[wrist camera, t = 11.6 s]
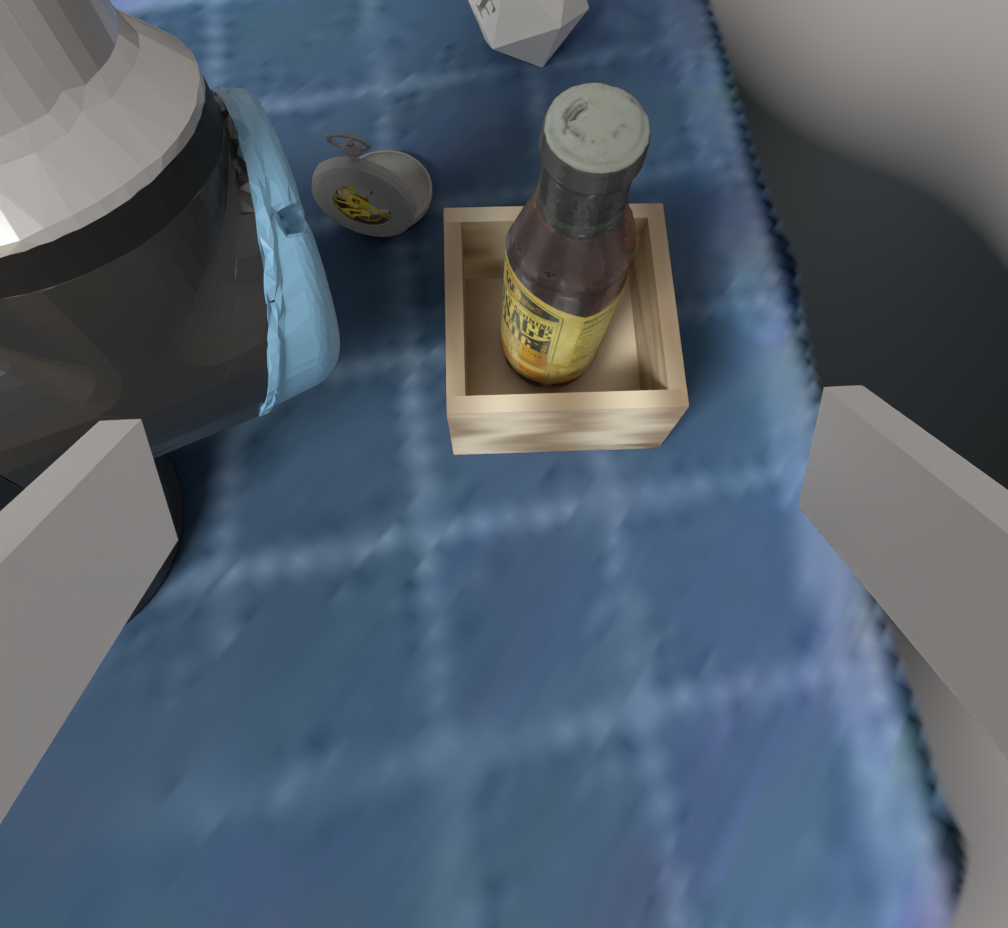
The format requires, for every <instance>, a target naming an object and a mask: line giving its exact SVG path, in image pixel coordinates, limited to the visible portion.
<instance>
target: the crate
mask: <svg viewBox="0 0 1008 928" xmlns="http://www.w3.org/2000/svg"><path fill="white" fill-rule="evenodd" d="M629 206H630V208H631V210H632V212H633V216H634V220H635V224H636V232H637V236H636V239H637V242H636V250H635V253H634V257H633V261H632V263H631V266H630V269H629V270H628V274H627V279H626V283H625V286H624V288H623V291H622V293H621V296H620V298H619V300H618V303H617V305H616V308H615V310H614V313H613V315H612V318H611V320H610V323H609V325H608V328H607V331H606V333H605V336H604V338H603V341H602V343H601V346H600V348H599V351H598V353H597V355H596V358H595V360H594V361H593V363H592V364H591V366H590V367H589V368H588V370H587V371H586V372H584V373H583V374H582V375H581V376H580V377H579V378H578V379H576V380H575V381H574V382H572V383H571V384H569V385H567V386H563V387H550V388H549V387H538V386H534V385H530V384H529V383H528V382H526V381H525V380H524V379H521V378H520V377H519V376H518V375H517V374H516V373H515V372H514V371H513V370H512V369H511V368H510V366H509V365H508V364H507V362H506V359H505V354H504V352H503V348H502V344H501V315H502V294H503V277H504V259H505V256H504V254H505V245H506V237H507V233H508V231H509V229H510V227H511V226H512V224H513V223H514V221H515V220H516V218H517V216H518V215H519V213H520V212H521V210H522V209H523V207H524V206H509V207H466V208H444V266H445V329H446V393H447V418H448V423H449V429H450V435H451V441H452V446H453V452H454V455H460V454H491V453H521V452H552V451H582V450H613V449H644V448H659V447H660V446H661V444H662V443H663V442H664V440H665V439H666V437H667V436H668V435H669V433H670V432H671V431H672V429H673V428H674V426H675V425H676V424H677V422H678V421H679V420H680V418H681V417H682V415H683V414H684V413H685V411H686V410H687V408H688V407H689V401H688V394H687V386H686V378H685V371H684V363H683V355H682V347H681V340H680V332H679V324H678V317H677V309H676V301H675V293H674V286H673V278H672V270H671V263H670V255H669V247H668V239H667V232H666V224H665V216H664V209H663V203H639V204H629Z"/></svg>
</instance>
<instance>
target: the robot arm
mask: <svg viewBox="0 0 1008 928" xmlns="http://www.w3.org/2000/svg"><path fill="white" fill-rule="evenodd" d="M304 218H305V212H304V209H303V206H302V204H301V201H300V198H299V194H298V190H297V186H296V182H295V180H294V177H293V174H292V172H291V169H290V166H289V164H288V161H287V159H286V156H285V154H284V151H283V149H282V146H281V144H280V141H279V139H278V137H277V134H276V132H275V130H274V127H273V125H272V123H271V121H270V119H269V117H268V115H267V113H266V112H265V110H264V108H263V107H262V105H261V102H260V101H259V100H258V98H257V97H256V96H255V95H254V94H253V93H251V92H250V91H249V90H246V89H244V88H235V89H229V88H227V87H225V86H223V87H222V88H220V89H219V86H217V87H215V88H212V89H211V91H210V89H209V87H208V84H207V82H206V80H205V78H204V76H203V74H202V71H201V69H200V67H199V65H198V63H197V61H196V60H195V58H194V56H193V54H192V52H191V51H190V50H189V49H188V48H187V47H186V46H185V45H184V44H183V43H182V42H181V41H180V40H178V39H177V38H176V37H174V36H173V35H171V34H169V33H167V32H165V31H163V30H161V29H159V28H156V27H154V26H152V25H150V24H148V23H146V22H143V21H141V20H139V19H137V18H135V17H132V16H130V15H128V14H126V13H124V12H121V11H119V10H117V9H116V8H115V7H114V6H113V5H112V4H111V2H110V0H0V824H1V822H2V820H3V819H4V817H5V816H6V814H7V812H8V811H9V809H10V808H11V806H12V804H13V803H14V801H15V800H16V798H17V796H18V795H19V793H20V792H21V790H22V788H23V787H24V785H25V784H26V782H27V781H28V779H29V777H30V776H31V774H32V773H33V771H34V769H35V768H36V766H37V765H38V763H39V761H40V760H41V758H42V757H43V755H44V753H45V752H46V750H47V749H48V747H49V745H50V744H51V742H52V741H53V739H54V737H55V736H56V734H57V733H58V731H59V729H60V728H61V726H62V725H63V723H64V721H65V720H66V718H67V717H68V715H69V713H70V712H71V710H72V709H73V707H74V705H75V704H76V702H77V701H78V699H79V697H80V696H81V694H82V693H83V691H84V689H85V688H86V686H87V685H88V683H89V681H90V680H91V678H92V677H93V675H94V673H95V672H96V670H97V669H98V667H99V665H100V664H101V662H102V661H103V659H104V657H105V656H106V654H107V653H108V651H109V650H110V648H111V646H112V645H113V643H114V642H115V640H116V638H117V637H118V635H119V634H120V632H121V630H122V629H123V627H124V626H125V624H126V623H127V622H128V621H129V620H130V619H131V618H133V617H134V616H135V615H136V614H137V613H138V612H139V611H140V610H141V609H142V608H143V607H144V606H145V605H146V603H147V602H148V601H149V600H150V599H151V597H152V596H153V595H154V593H155V592H156V591H157V589H158V588H159V586H160V585H161V583H162V582H163V580H164V578H165V576H166V575H167V573H168V571H169V569H170V567H171V565H172V562H173V560H174V557H175V555H176V552H177V549H178V545H179V541H180V537H181V532H182V525H183V499H182V493H181V488H180V484H179V480H178V477H177V474H176V472H175V470H174V467H173V465H172V464H171V462H170V460H169V458H168V457H167V455H166V453H168V452H171V451H173V450H176V449H178V448H181V447H183V446H186V445H188V444H190V443H193V442H195V441H198V440H200V439H203V438H205V437H208V436H210V435H213V434H215V433H218V432H220V431H222V430H225V429H227V428H230V427H232V426H235V425H237V424H240V423H242V422H245V421H247V420H250V419H252V418H255V417H259V416H263V415H266V414H268V413H269V412H270V411H272V409H273V408H274V406H276V405H278V404H280V403H282V402H284V401H286V400H288V399H290V398H292V397H294V396H296V395H298V394H300V393H302V392H304V391H306V390H308V389H310V388H312V387H314V386H316V385H318V384H319V383H321V382H322V381H324V380H325V379H326V378H327V377H328V376H329V375H330V373H331V372H332V371H333V369H334V368H335V366H336V363H337V361H338V357H339V352H340V336H339V328H338V323H337V318H336V313H335V308H334V304H333V300H332V296H331V292H330V289H329V285H328V281H327V278H326V274H325V271H324V267H323V264H322V260H321V257H320V254H319V251H318V248H317V245H316V242H315V239H314V236H313V233H312V231H311V229H310V227H309V225H308V223H307V222H306V220H305V219H304ZM798 507H799V508H800V509H801V510H802V511H803V513H804V514H805V515H806V516H807V517H808V519H809V520H810V521H811V522H812V524H813V525H814V526H815V527H816V528H817V530H818V531H819V532H820V533H821V534H822V536H823V537H824V538H825V539H826V540H827V542H828V543H829V544H830V545H831V546H832V548H833V549H834V550H835V551H836V553H837V554H838V555H839V556H840V557H841V559H842V560H843V561H844V562H845V563H846V565H847V566H848V567H849V568H850V569H851V571H852V572H853V573H854V574H855V575H856V577H857V578H858V579H859V580H860V582H861V583H862V584H863V585H864V586H865V588H866V589H867V590H868V591H869V592H870V594H871V595H872V596H873V597H874V598H875V600H876V601H877V602H878V603H879V604H880V606H881V607H882V608H883V609H884V611H885V612H886V613H887V614H888V615H889V617H890V618H891V619H892V620H893V621H894V623H895V624H896V625H897V626H898V627H899V629H900V630H901V631H902V632H903V633H904V635H905V636H906V637H907V638H908V640H909V641H910V642H911V643H912V644H913V646H914V647H915V648H916V649H917V650H918V652H919V653H920V654H921V655H922V656H923V657H924V659H925V660H926V661H927V662H928V664H929V665H930V666H931V667H932V669H933V670H934V671H935V672H936V673H937V674H938V676H939V677H940V678H941V679H942V680H943V682H944V683H945V684H946V685H947V687H948V688H949V689H950V690H951V691H952V693H953V694H954V695H955V696H956V698H957V699H959V701H960V702H961V704H962V705H963V706H964V707H965V708H966V710H967V711H968V712H969V713H970V714H971V716H972V717H973V718H974V719H975V720H976V722H977V723H978V724H979V725H980V726H981V728H982V729H983V730H984V731H985V733H986V734H987V735H988V736H989V737H990V739H991V740H992V741H993V742H994V743H995V744H996V746H997V747H998V748H999V749H1000V751H1001V752H1002V753H1003V754H1004V756H1005V757H1006V758H1007V759H1008V490H1007V489H1006V488H1004V487H1003V486H1001V485H1000V484H999V483H997V482H996V481H994V480H993V479H991V478H990V477H989V476H987V475H986V474H985V473H983V472H982V471H980V470H979V469H978V468H976V467H975V466H974V465H972V464H971V463H969V462H968V461H967V460H965V459H964V458H962V457H961V456H960V455H958V454H957V453H955V452H954V451H952V450H951V449H950V448H948V447H947V446H945V445H944V444H943V443H941V442H940V441H939V440H937V439H936V438H935V437H933V436H932V435H930V434H929V433H928V432H926V431H924V430H923V429H922V428H921V427H919V426H918V425H917V424H915V423H914V422H912V421H911V420H909V419H908V418H907V417H905V416H904V415H903V414H901V413H900V412H898V411H897V410H896V409H894V408H893V407H891V406H890V405H889V404H887V403H886V402H884V401H883V400H882V399H880V398H879V397H878V396H876V395H875V394H873V393H872V392H870V391H869V390H868V389H866V388H865V387H864V386H839V387H824V390H823V394H822V399H821V404H820V408H819V413H818V418H817V422H816V427H815V432H814V436H813V441H812V446H811V450H810V455H809V460H808V464H807V469H806V474H805V478H804V483H803V487H802V492H801V497H800V501H799V506H798Z"/></svg>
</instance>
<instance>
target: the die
mask: <svg viewBox="0 0 1008 928" xmlns="http://www.w3.org/2000/svg"><path fill="white" fill-rule="evenodd" d="M468 1H469V4H470V6H471V8H472V10H473V13H474V15H475V17H476V20H477V22H478V24H479V27H480V29H481V31H482V33H483V36H484V38H485V40H486V42H487V43H488V44H489V46H490V47H491V48H492V49H494V50H496V51H499V52H502V53H504V54H507V55H510V56H512V57H515V58H518V59H520V60H523V61H526V62H528V63H531V64H534V65H536V66H539V67H542V68H543V67H544V65H545V64H546V63H547V61H548V60H549V59H550V58H551V56H552V55H553V54H554V52H555V51H556V50H557V49H558V47H559V46H560V45H561V43H562V42H563V41H564V40H565V38H566V37H567V36H568V35H569V33H570V32H571V31H572V29H573V28H574V27H575V26H576V24H577V23H578V22H579V20H580V19H581V18H582V17H583V15H584V14H585V13H586V11H587V10H588V9H589V6H588V2H587V0H468Z"/></svg>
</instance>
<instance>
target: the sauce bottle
mask: <svg viewBox="0 0 1008 928" xmlns="http://www.w3.org/2000/svg"><path fill="white" fill-rule="evenodd" d="M649 141H650V123H649V119H648V116H647V114H646V112H645V111H644V110H643V108H642V107H641V105H640V104H639V102H638V101H637V99H635V98H634V97H633V96H632V95H631V94H629V93H628V92H626V91H624V90H623V89H621V88H618V87H612V86H609V85H607V84H602V83H586V84H581V85H577V86H573V87H571V88H569V89H567V90H566V91H564V92H562V93H560V94H559V95H558V96H557V97H556V98H555V99H554V100H553V101H552V103H551V105H550V106H549V108H548V110H547V112H546V114H545V117H544V119H543V122H542V128H541V133H540V138H539V152H540V157H541V160H542V166H541V171H540V173H541V175H540V179H539V182H538V184H537V186H536V188H535V189H534V191H533V193H532V194H531V196H530V197H529V199H528V201H527V202H526V204H525V205H524V207H523V209H522V210H521V212H520V213H519V215H518V216H517V218H516V220H515V221H514V223H513V224H512V226H511V227H510V229H509V231H508V233H507V237H506V245H505V254H504V256H505V259H504V277H503V294H502V315H501V344H502V348H503V352H504V354H505V359H506V362H507V364H508V365H509V366H510V368H511V369H512V370H513V371H514V372H515V373H516V374H517V375H518V376H519V377H520V378H521V379H524V380H525V381H526V382H528V383H529V384H530V385H534V386H538V387H549V388H550V387H563V386H567V385H569V384H571V383H572V382H574V381H575V380H576V379H578V378H579V377H580V376H581V375H582V374H583V373H584V372H586V371H587V370H588V368H589V367H590V366H591V364H592V363H593V361H594V360H595V358H596V355H597V353H598V351H599V348H600V346H601V343H602V341H603V338H604V336H605V333H606V331H607V328H608V325H609V323H610V320H611V318H612V315H613V313H614V310H615V308H616V305H617V303H618V300H619V298H620V296H621V293H622V291H623V288H624V286H625V283H626V279H627V274H628V270H629V269H630V266H631V263H632V261H633V257H634V253H635V250H636V242H637V239H636V236H637V232H636V224H635V220H634V216H633V212H632V210H631V208H630V206H629V203H628V191H629V188H630V185H631V182H632V180H633V179H634V178H635V177H636V176H637V174H638V173H639V171H640V170H641V168H642V165H643V162H644V160H645V157H646V153H647V149H648V146H649Z"/></svg>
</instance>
